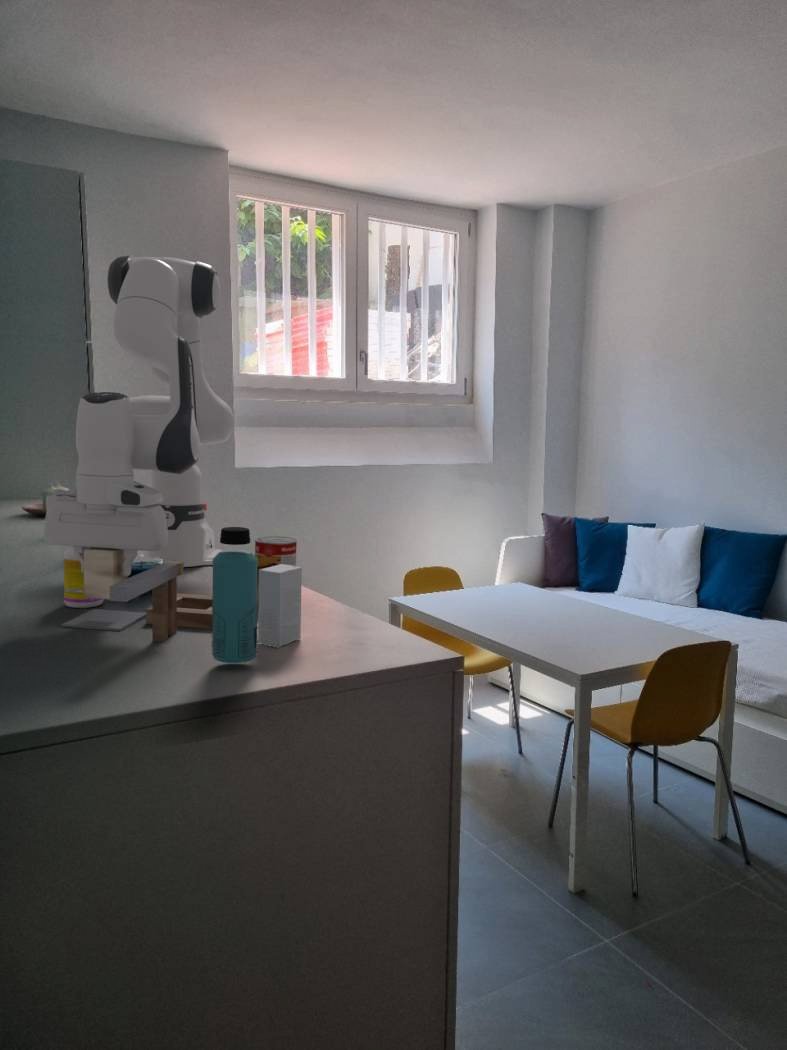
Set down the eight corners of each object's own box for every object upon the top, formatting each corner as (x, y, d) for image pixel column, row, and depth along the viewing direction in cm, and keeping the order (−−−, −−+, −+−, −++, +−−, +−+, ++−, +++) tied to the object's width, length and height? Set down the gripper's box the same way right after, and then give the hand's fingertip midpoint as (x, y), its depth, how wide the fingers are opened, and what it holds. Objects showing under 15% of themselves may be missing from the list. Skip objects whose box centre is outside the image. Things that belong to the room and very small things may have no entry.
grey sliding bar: (165, 573, 120) (165, 561, 120) (183, 574, 120) (183, 562, 119) (107, 600, 101) (107, 586, 101) (128, 601, 101) (128, 587, 101)
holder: (175, 606, 136) (175, 557, 135) (238, 611, 135) (239, 561, 134) (120, 639, 115) (120, 581, 114) (194, 644, 114) (194, 586, 113)
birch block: (99, 591, 127) (99, 545, 126) (127, 593, 126) (127, 546, 125) (84, 597, 122) (83, 549, 121) (113, 599, 122) (112, 551, 120)
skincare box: (279, 635, 121) (281, 563, 120) (301, 639, 119) (303, 566, 118) (256, 644, 116) (257, 569, 114) (278, 648, 114) (280, 572, 112)
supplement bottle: (89, 610, 131) (88, 539, 129) (56, 607, 132) (54, 536, 130) (111, 601, 138) (110, 533, 136) (79, 598, 139) (78, 531, 137)
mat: (93, 611, 131) (93, 609, 130) (147, 615, 129) (147, 613, 129) (62, 626, 121) (62, 624, 121) (120, 631, 120) (120, 628, 120)
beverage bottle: (261, 672, 103) (264, 530, 101) (212, 675, 101) (214, 531, 98) (253, 657, 109) (256, 523, 107) (207, 660, 107) (209, 524, 104)
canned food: (266, 593, 149) (268, 535, 148) (301, 598, 147) (303, 538, 145) (246, 602, 142) (247, 540, 140) (283, 607, 139) (284, 544, 138)
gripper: (35, 490, 120) (36, 573, 122) (155, 496, 118) (155, 581, 120) (56, 486, 126) (58, 566, 128) (171, 493, 124) (171, 574, 126)
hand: (106, 574), depth 124 cm, fingers closed on birch block, 5 cm apart
